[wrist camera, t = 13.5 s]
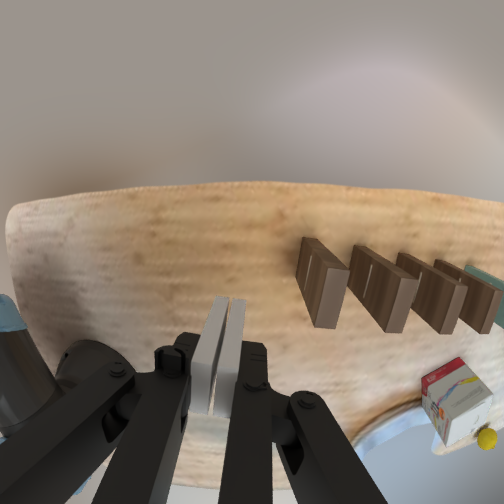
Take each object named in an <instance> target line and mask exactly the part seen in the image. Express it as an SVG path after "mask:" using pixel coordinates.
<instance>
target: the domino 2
mask: <svg viewBox="0 0 504 504" xmlns="http://www.w3.org/2000/svg"><path fill="white" fill-rule="evenodd" d="M349 270H350V274H349V278H348V283H347V286H348V288H349V289H350V290H351V291H352V292H353V294H354V295H355V296H356V297H357V298H358V300H359V301H360V302H361V303H362V305H363V306H364V307H365V308H366V309H367V311H368V312H369V313H370V314H371V316H372V317H373V318H374V319H375V321H376V322H377V323H378V324H379V326H380V327H381V328H382V330H383V331H384V332H385V333H402V331H403V328H404V325H405V322H406V320H407V317H408V314H409V310H410V307H411V304H412V301H413V298H414V294H415V291H416V287H417V284H418V279H416V278H414V277H413V276H411V275H410V274H408V273H407V272H405V271H404V270H402V269H401V268H399V267H398V266H396V265H394V264H393V263H391V262H390V261H388V260H387V259H385V258H383V257H382V256H380V255H379V254H377V253H375V252H374V251H372V250H371V249H369V248H367V247H362V246H356V245H354V248H353V252H352V257H351V262H350V266H349Z"/></svg>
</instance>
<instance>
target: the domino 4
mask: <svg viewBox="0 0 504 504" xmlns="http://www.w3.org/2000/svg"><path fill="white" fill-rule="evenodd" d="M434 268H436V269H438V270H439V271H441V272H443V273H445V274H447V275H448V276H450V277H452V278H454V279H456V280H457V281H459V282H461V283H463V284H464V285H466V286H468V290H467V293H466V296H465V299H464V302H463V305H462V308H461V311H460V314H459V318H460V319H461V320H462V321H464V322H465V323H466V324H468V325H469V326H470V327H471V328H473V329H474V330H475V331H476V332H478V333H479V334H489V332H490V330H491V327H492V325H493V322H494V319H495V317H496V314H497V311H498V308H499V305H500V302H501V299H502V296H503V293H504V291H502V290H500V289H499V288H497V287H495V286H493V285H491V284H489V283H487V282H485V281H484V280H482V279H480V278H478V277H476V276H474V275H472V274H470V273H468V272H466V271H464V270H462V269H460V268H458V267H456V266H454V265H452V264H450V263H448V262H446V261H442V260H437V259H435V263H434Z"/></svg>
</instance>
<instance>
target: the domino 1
mask: <svg viewBox="0 0 504 504" xmlns="http://www.w3.org/2000/svg"><path fill="white" fill-rule="evenodd" d="M349 274H350V270H349V269H348V268H347V267H346V266H345V265H344V264H343V263H342V262H341V261H340V260H339V259H338V258H337V257H336V256H335V255H333V254H332V253H331V252H330V251H329V250H328V249H327V248H326V247H325V246H324V245H323V244H322V243H321V242H320V241H319V240H318V239H312V238H306V237H303V239H302V245H301V251H300V256H299V262H298V267H297V272H296V280H297V283H298V285H299V288H300V290H301V293H302V296H303V298H304V301H305V304H306V306H307V309H308V312H309V314H310V317H311V320H312V323H313V325H314V327H315V328H326V329H336V325H337V321H338V318H339V314H340V310H341V307H342V303H343V299H344V295H345V291H346V287H347V283H348V278H349Z"/></svg>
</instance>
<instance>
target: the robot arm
mask: <svg viewBox="0 0 504 504" xmlns="http://www.w3.org/2000/svg"><path fill="white" fill-rule="evenodd" d="M228 304H229V298H228V297H221V296H216V297H215V300H214V302H213V305H212V307H211V310H210V313H209V315H208V318H207V321H206V323H205V326H204V328H203V331H202V334H201V335H199V334H193V333H188V332H183V333H182V334H180V335H179V336H178V337H177V339H176V340H175V343H174V344H173V346H171V345H168V346H162V347H160V348H157V349H156V350H155V351H154V353H155V370H154V372H148V373H137V372H135V370H134V369H133V368H132V366H131V365H130V364H129V363H128V362H127V361H126V360H125V359H124V358H123V357H122V356H121V355H119V354H118V353H117V352H116V351H114V350H113V349H111V348H109V347H107V346H105V345H103V344H101V343H98V342H95V341H90V340H82V341H78V342H75V343H74V344H72V345H71V346H70V347H69V348H68V349H67V350H66V351H65V352H64V354H63V355H62V357H61V360H60V363H59V365H58V368H57V371H56V374H55V377H54V376H53V375H52V373H51V371H50V370H49V368H48V366H47V365H46V363H45V361H44V360H43V358H42V356H41V354H40V353H39V351H38V349H37V347H36V345H35V343H34V342H33V340H32V338H31V336H30V334H29V332H28V330H27V328H28V326H27V324H26V323H24V321H23V319H22V317H21V315H20V314H19V312H18V310H17V308H16V305H15V303H14V302H13V300H12V299H11V298H10V297H9V296H7V295H4V294H0V432H1V433H2V435H3V437H1V438H0V504H64V503H65V502H66V501H67V500H68V499H69V498H70V497H71V496H72V495H77V494H79V493H80V492H81V491H82V489H83V488H84V486H85V485H86V483H87V481H88V480H89V479H91V475H92V473H93V472H94V471H95V470H96V469H97V468H98V467H99V466H100V465H101V464H102V463H103V462H104V460H105V459H106V458H107V457H108V456H109V455H110V454H111V453H112V452H113V450H114V449H115V448H116V447H117V448H116V450H115V452H114V454H113V456H112V458H111V461H110V463H109V465H108V467H107V469H106V471H105V474H104V476H103V478H102V480H101V483H100V485H99V487H98V489H97V492H96V494H95V496H94V498H93V501H92V503H91V504H166V502H167V497H168V494H169V490H170V486H171V482H172V478H173V474H174V470H175V466H176V462H177V458H178V455H179V451H180V447H181V443H182V439H183V435H184V432H185V428H186V424H187V418H188V409H189V406H190V412H194V413H199V414H205V415H208V411H209V406H210V402H211V397H212V392H213V388H214V383H215V379H216V388H215V398H214V408H213V416H217V417H224V418H230V424H229V431H228V437H227V444H226V451H225V458H224V465H223V472H222V479H221V486H220V492H219V499H218V504H273V496H272V495H273V487H272V442H274V443H276V447H277V450H278V453H279V456H280V458H281V461H282V464H283V466H284V469H285V472H286V474H287V477H288V480H289V482H290V485H291V487H292V490H293V492H294V495H295V498H296V500H297V502H298V504H388V503H387V501H386V500H385V498H384V497H383V495H382V493H381V492H380V490H379V489H378V487H377V486H376V484H375V482H374V481H373V479H372V478H371V476H370V475H369V473H368V472H367V470H366V468H365V466H364V465H363V463H362V462H361V460H360V458H359V457H358V455H357V454H356V452H355V450H354V449H353V447H352V446H351V444H350V442H349V441H348V439H347V438H346V436H345V434H344V433H343V431H342V429H341V428H340V426H339V425H338V423H337V421H336V420H335V418H334V416H333V415H332V413H331V411H330V410H329V408H328V407H327V405H326V403H325V402H324V400H323V399H322V398H321V397H320V396H319V395H317V394H316V393H314V392H310V391H298V392H295V393H293V394H292V395H291V397H289V396H286V395H283V394H280V393H278V392H276V391H274V390H273V389H272V388H271V386H270V383H269V382H268V370H267V349H266V348H265V346H264V345H263V343H258V342H250V341H242V335H243V326H244V317H245V308H246V300H242V299H235V298H233V301H232V305H231V309H230V314H229V318H228V323H227V327H226V320H227V312H228ZM225 329H226V331H225ZM216 374H217V378H216Z"/></svg>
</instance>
